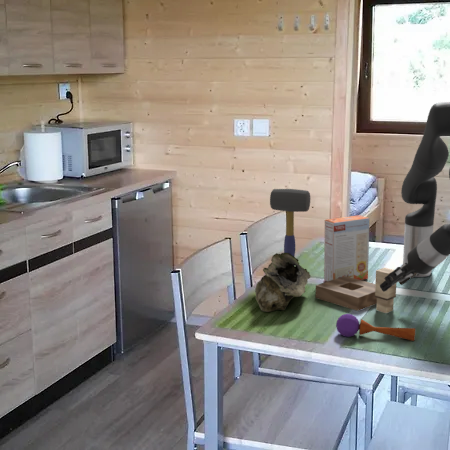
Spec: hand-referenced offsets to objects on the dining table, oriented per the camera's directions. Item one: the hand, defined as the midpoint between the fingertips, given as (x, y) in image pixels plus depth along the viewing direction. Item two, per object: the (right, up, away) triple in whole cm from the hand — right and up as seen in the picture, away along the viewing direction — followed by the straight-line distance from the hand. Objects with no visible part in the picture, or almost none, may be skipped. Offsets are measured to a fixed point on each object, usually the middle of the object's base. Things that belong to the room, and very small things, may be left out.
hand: (390, 285), depth 199 cm
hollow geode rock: (-29, -6, +13) cm, 32 cm away
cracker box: (-8, -1, +32) cm, 32 cm away
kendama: (-8, -13, -17) cm, 22 cm away
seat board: (-9, -5, +13) cm, 17 cm away
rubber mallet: (-26, -1, +35) cm, 44 cm away
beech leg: (-1, -8, +3) cm, 8 cm away
